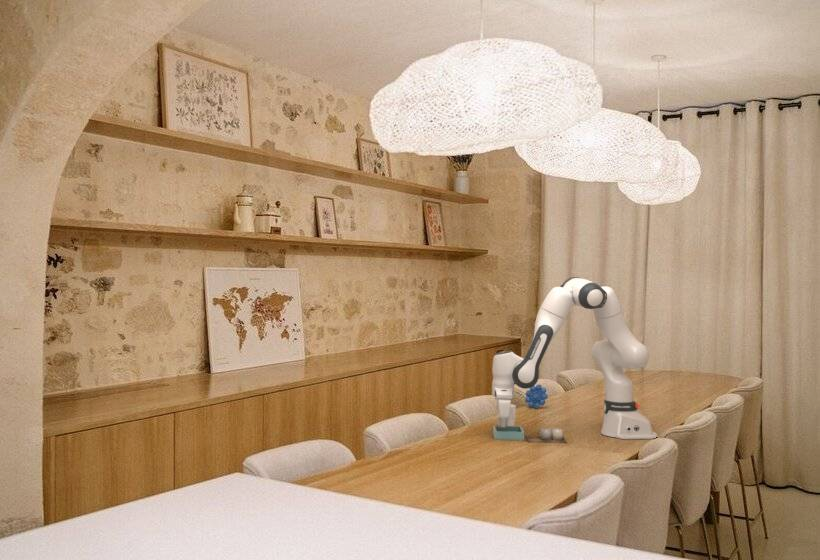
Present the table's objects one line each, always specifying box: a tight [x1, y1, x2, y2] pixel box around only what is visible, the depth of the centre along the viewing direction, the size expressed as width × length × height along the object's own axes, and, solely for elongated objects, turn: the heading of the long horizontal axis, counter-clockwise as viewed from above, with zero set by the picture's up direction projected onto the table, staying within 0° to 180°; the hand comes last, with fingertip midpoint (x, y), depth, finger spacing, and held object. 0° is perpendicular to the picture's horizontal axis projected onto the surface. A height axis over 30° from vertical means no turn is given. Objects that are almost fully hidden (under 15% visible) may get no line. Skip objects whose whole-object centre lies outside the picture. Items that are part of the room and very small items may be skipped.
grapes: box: [524, 384, 549, 409], centre depth 368 cm, size 12×7×12 cm, turn 64°
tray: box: [525, 435, 568, 444], centre depth 293 cm, size 15×8×1 cm, turn 87°
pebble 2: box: [540, 427, 552, 441], centre depth 293 cm, size 4×4×4 cm
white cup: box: [496, 403, 517, 426], centre depth 317 cm, size 8×8×10 cm
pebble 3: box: [551, 427, 563, 441], centre depth 293 cm, size 4×4×4 cm
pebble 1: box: [496, 416, 507, 430], centre depth 299 cm, size 4×4×4 cm
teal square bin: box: [492, 425, 525, 441], centre depth 299 cm, size 12×12×4 cm
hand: (502, 425), depth 299 cm, fingers closed on pebble 1, 4 cm apart
